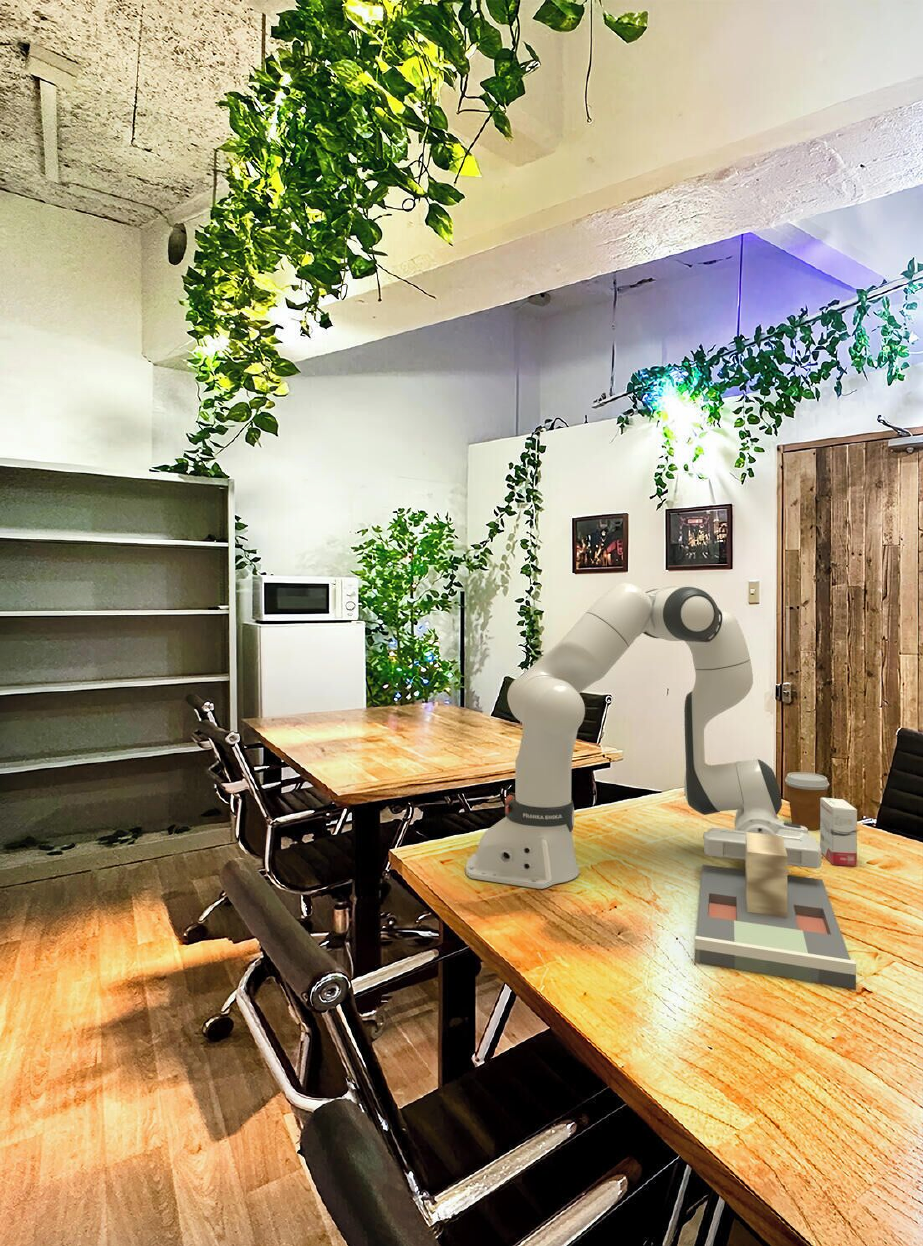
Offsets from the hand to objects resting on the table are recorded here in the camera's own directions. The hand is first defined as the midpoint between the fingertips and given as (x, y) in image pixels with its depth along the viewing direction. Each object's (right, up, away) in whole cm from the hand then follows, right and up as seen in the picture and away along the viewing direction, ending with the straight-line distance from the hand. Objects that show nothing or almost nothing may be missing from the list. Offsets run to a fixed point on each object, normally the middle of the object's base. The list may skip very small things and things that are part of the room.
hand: (762, 861), depth 125 cm
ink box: (+25, -7, +21) cm, 33 cm away
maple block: (-2, -5, -5) cm, 7 cm away
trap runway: (-3, -7, -8) cm, 11 cm away
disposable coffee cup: (+29, -6, +42) cm, 52 cm away
